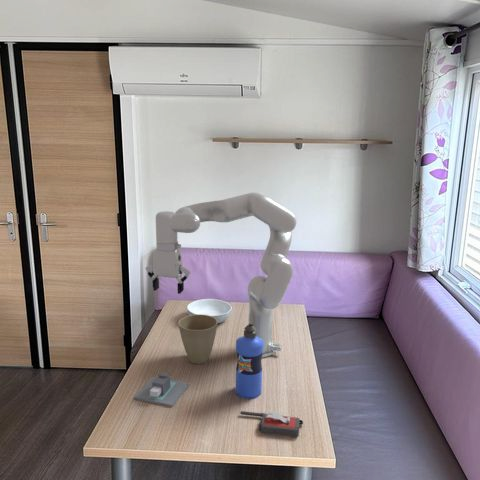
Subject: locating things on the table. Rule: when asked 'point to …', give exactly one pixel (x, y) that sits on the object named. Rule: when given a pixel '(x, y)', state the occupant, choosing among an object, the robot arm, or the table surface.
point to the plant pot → (198, 336)
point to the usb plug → (160, 385)
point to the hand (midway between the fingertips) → (168, 290)
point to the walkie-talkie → (277, 423)
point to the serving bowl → (210, 308)
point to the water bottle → (249, 364)
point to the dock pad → (169, 397)
